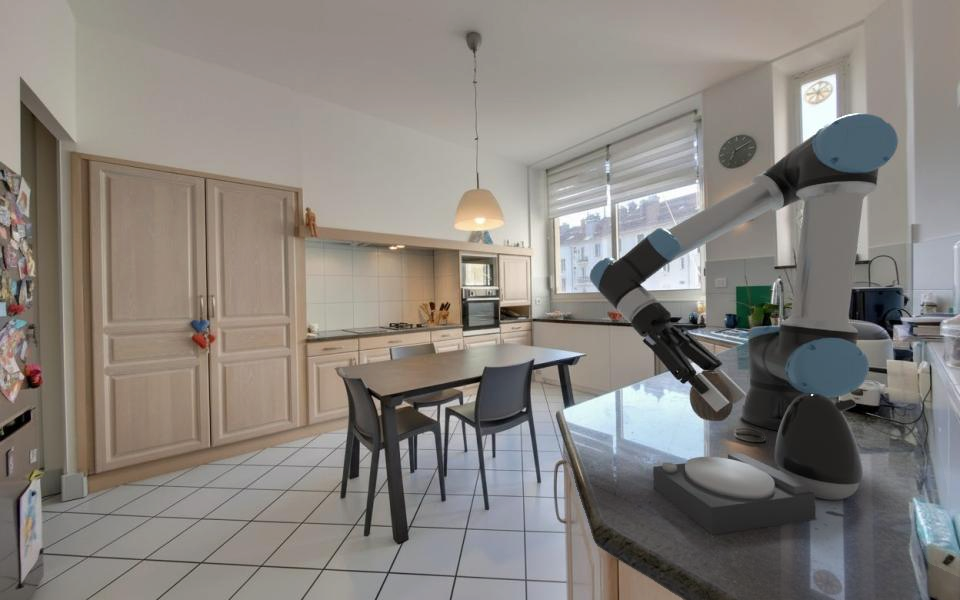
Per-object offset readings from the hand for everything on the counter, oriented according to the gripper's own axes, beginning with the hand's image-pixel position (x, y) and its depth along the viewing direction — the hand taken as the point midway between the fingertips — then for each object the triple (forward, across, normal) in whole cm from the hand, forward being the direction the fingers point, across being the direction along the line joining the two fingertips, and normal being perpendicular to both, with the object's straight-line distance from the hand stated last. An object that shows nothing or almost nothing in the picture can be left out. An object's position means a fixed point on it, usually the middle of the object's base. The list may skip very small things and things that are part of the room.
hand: (732, 403), depth 67 cm
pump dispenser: (+16, 0, 0) cm, 16 cm away
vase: (0, 0, -5) cm, 5 cm away
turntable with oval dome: (+11, +14, -5) cm, 19 cm away
